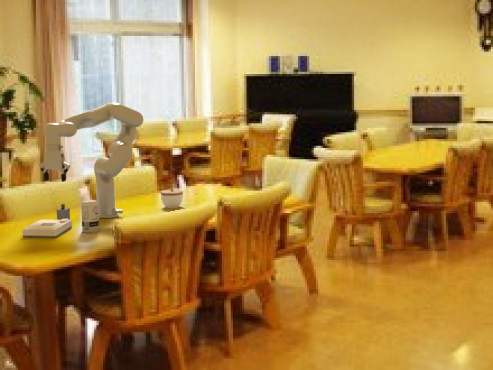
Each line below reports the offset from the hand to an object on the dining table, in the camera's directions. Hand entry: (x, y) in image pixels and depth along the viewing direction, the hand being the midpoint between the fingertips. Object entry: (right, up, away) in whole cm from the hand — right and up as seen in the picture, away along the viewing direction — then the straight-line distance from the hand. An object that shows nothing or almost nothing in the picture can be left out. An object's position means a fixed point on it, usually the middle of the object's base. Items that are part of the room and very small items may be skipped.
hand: (55, 181), depth 368 cm
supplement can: (+22, -25, -17) cm, 37 cm away
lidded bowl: (+55, -15, +43) cm, 72 cm away
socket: (+1, -25, -19) cm, 31 cm away
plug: (+4, -22, 0) cm, 22 cm away
